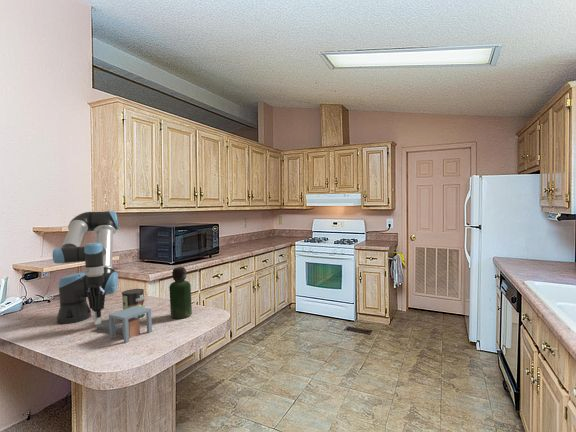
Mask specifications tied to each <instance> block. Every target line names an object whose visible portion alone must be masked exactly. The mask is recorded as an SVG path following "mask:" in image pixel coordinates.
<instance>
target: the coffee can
mask: <svg viewBox="0 0 576 432" xmlns="http://www.w3.org/2000/svg"><path fill="white" fill-rule="evenodd" d="M121 295H122V310H125V309H128V308H131V307H134V306H138V307H143V308H146V307H145V290H144V288H133V289H132V288H131V289H127V290H124V291H122V292H121ZM138 318H139V321H140V320H143V319H145V318H146V313H144V314H141V315H139V316H138Z"/></svg>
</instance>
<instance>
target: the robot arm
mask: <svg viewBox="0 0 576 432" xmlns="http://www.w3.org/2000/svg"><path fill="white" fill-rule="evenodd" d="M67 229H68V230H67V233H66V236H65V238H64V240H63V242H62V245H61V247H57V248H54V249H53V250H52V260H53V263H54V264H69V263H71V264H72V263H79V262H82V263H83V262H84V263H85V265H84V266H85V270H84V272H77V273H75V272H74V273H73V274H72V273H71V274H68V275H64V276H62V277H60V278H59V280H58V293H59V296H58V297H59V307H58V308H59V309H58V312H57V315H56V323H57V324H60V325H61V324H63V325H65V324H73V323H77V322H81V321H84V320H87V319H89V318H91V317H92V316H93V325H94V326H95V325H97V324H99V323H102V310H104V308H105V299H106V296H107V295H113V294H115V292H116V291H117V289H118V285H119V274H118V272H117V271H116V269H115V268H113V255H114V254H113V250H114V249H113V247H114V246H113V245H114V244H113V243H114V242H113V241H114V235H115V234H116V232H117V231H119V221H118V216H117V212H116V211H114V210H113V211H112V210H111V211H110V210H107V211H104V210H103V211H87V212H86V211H85V212H82V213H79V214H78V215H76V216H74V217H73V218H72V219H71V220H70V221H69V223H68V226H67ZM87 232H93V233H94V234H95V235H96V237H95V240H96V241H95V242H89V243H85V244H84V246H81V243H82V240H83V238H84V235H85V234H86V233H87ZM87 301H88V302H87ZM92 312H93V313H92ZM92 314H93V315H92Z"/></svg>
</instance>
